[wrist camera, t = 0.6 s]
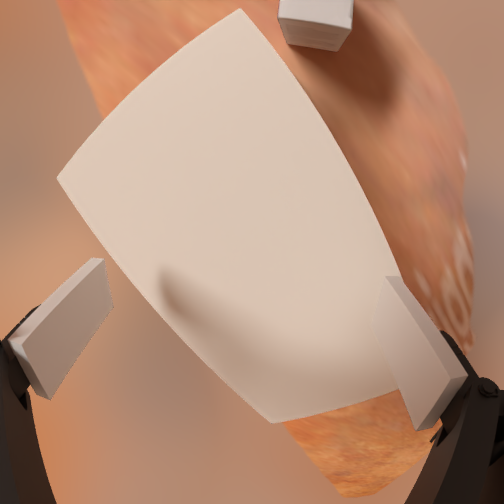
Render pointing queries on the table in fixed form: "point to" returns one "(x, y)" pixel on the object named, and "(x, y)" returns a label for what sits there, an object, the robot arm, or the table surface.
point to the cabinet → (242, 224)
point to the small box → (316, 22)
